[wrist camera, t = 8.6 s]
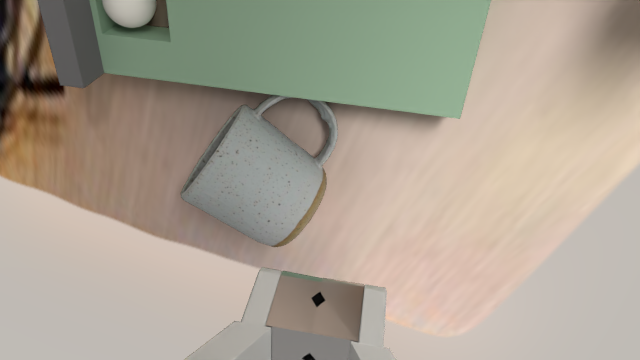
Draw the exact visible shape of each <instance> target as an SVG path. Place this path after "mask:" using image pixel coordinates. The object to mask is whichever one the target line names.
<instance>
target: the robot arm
mask: <svg viewBox="0 0 640 360" xmlns="http://www.w3.org/2000/svg"><path fill="white" fill-rule="evenodd" d="M386 295H387V291H386V288H384V287H378V286H371V285H364V284H360V283H353V282H347V281H340V280H334V279H327V278H318V277H313V276H308V275H302V274H297V273H292V272H287V271H280V270H274V269H269V268H264V267H262V268H261V270H260V271H259V273H258V275H257V278H256V281H255V284H254V286H253V289H252V292H251V295H250V298H249V301H248V303H247V306H246V309H245V312H244V315H243V317H242V320H241V322H238V321H234V322H233V323H232V324H230V325H229V326H228V327H226V328H225V329H224V330H222V331H221V332H220V333H218V334H217V335H216V336H215V337H213V338H212V339H211V340H209V341H208V342H207V343H205V344H204V345H203V346H201V347H200V348H199V349H197V350H196V351H195V352H193V353H192V354H191V355H189V356H188V357H187V358H185V359H184V360H396V358H395V356H394V355H393V353H392V351H391V350H390V348H386V347H383V345H384V327H385V312H386Z"/></svg>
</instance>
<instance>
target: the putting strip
mask: <svg viewBox="0 0 640 360" xmlns="http://www.w3.org/2000/svg"><path fill="white" fill-rule="evenodd" d="M490 2H491V0H166V5H167V13H168V22H169V28H165V27H156V26H148V25H143V26H141V27H136V28H128V27H124V26H121V25H119V24H117V23H116V22H114V21H113V20H112V19H111V18H110V17H109V16H108V15H107V13H106V11H105V10H104V7H103V4H102V0H38V3H39V7H40V11H41V15H42V18H43V22H44V26H45V30H46V34H47V37H48V41H49V45H50V49H51V52H52V56H53V60H54V64H55V68H56V71H57V75H58V79H59V83H60V85H63V86H71V87H78V88H85V87H86V86H88V85H89V84H90V83H92V82H93V81H94V80H96V79H97V78H98V77H100V76H101V75H102V74H103V73H108V74H116V75H124V76H132V77H140V78H147V79H155V80H163V81H171V82H178V83H186V84H194V85H202V86H209V87H217V88H225V89H233V90H240V91H248V92H256V93H264V94H271V95H279V96H287V97H295V98H303V99H310V100H318V101H326V102H334V103H341V104H349V105H357V106H365V107H372V108H380V109H388V110H396V111H403V112H411V113H419V114H427V115H435V116H442V117H450V118H458V119H460V117H461V113H462V109H463V105H464V101H465V98H466V94H467V90H468V86H469V82H470V78H471V75H472V71H473V67H474V63H475V59H476V56H477V52H478V48H479V44H480V40H481V36H482V33H483V29H484V25H485V21H486V17H487V14H488V10H489V6H490Z"/></svg>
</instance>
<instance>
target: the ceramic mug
mask: <svg viewBox="0 0 640 360" xmlns="http://www.w3.org/2000/svg"><path fill="white" fill-rule="evenodd" d="M286 98H292V97H287V96H279V95H272V96H270V97H269V98H267V99H266V100H265V101H263V102H262V103H261V104H260V105H259V106H258V107H257V108H256V109H254V110H253V109H251V108H250V107H248V106H247V105H243V106H241V107H240V108H238V109H237V110H236V111H235V112H234V114H233V115H232V117H231V118H230V119H229V120H228V121H227V122H226V124H225V125H224V126H223V128H222V129H221V130H220V131H219V132H218V134H217V136H216V137H215V138H214V140H213V141H212V143H211V144H210V145H209V147H208V148H207V150H206V151H205V153H204V154H203V156H202V157H201V158H200V160H199V162H198V164H197V165H196V167H195V168H194V170H193V172H192V173H191V175H190V177H189V178H188V180H187V182H186V184H185V185H184V187H183V190H182V191H181V198H182V199H183V200H184V201H186V202H188V203H190V204H192V205H193V206H195V207H197V208H199V209H201V210H203V211H204V212H206V213H208V214H210V215H211V216H213V217H215V218H217V219H218V220H220V221H222V222H224V223H225V224H227V225H229V226H231V227H233V228H235V229H236V230H238V231H240V232H241V233H243V234H245V235H246V236H248V237H250V238H252V239H254V240H256V241H257V242H260V243H263V244H266V245H269V246H272V247H279V246H283V245H286V244H287V243H289V242H290V241H292V240H293V239H294V238H295V237H296V236H297V235H298V234H299V233H300V232H301V231H302V230H303V229H304V227H305V226H306V225H307V224H308V222H309V221H310V220H311V218H312V216H313V215H314V213H315V212H316V210H317V209H318V207H319V205H320V203H321V201H322V198H323V196H324V193H325V189H326V184H327V181H326V173H325V171H324V169H323V168H322V166H323V164H324V163H325V162H326V161H327V159H328V158H329V157H330V155H331V153H332V151H333V149H334V147H335V144H336V141H337V136H338V128H337V121H336V118H335V115H334V113H333V111H332V110H331V109H330V107H329V106H328V105H327V103H326V102H325V101H318V100H310V99H307V100H308V101H309V102H311V103H312V104H313V105H314V106H315V107H316V108H317V110H318V111H319V112H320V114H321V118H322V119H323V120H325V121H326V122H327V123H328V126H329V137H328V139H327V142H326V144H325V146H324V148H323V150H322V151H321V153H320V154H319V155H318V157H316V158H313V157H312V156H311V155H310V154H309V153H307V152H306V151H305V150H304V149H302V148H300V147H299V146H298V145H297V144H295V143H293V142H292V141H291V140H290V139H289V138H288V137H286V136H285V135H284V134H283V133H281V132H280V131H279V130H278V129H277V128H276V127H274V126H273V125H272V124H270V122H269V121H267V120H266V119H264V118H263V117H262V116H261V114H262V113H263V112H264V111H265V110H266V109H267V108H269V107H270V106H272V105H273V104H275V103H277V102H279V101H280V100H283V99H286Z"/></svg>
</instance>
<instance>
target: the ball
mask: <svg viewBox="0 0 640 360" xmlns="http://www.w3.org/2000/svg"><path fill="white" fill-rule="evenodd" d="M102 4H103V7H104V10H105V11H106V13H107V15H108V16H109V17H110V18H111V19H112V20H113V21H114V22H116V23H117V24H119V25H121V26H124V27H128V28H136V27H141V26H143V25H145V24H147V23H148V22H149V21H150V20H151V19H152V17H153V16H154V14H155V11H156V0H102Z"/></svg>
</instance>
